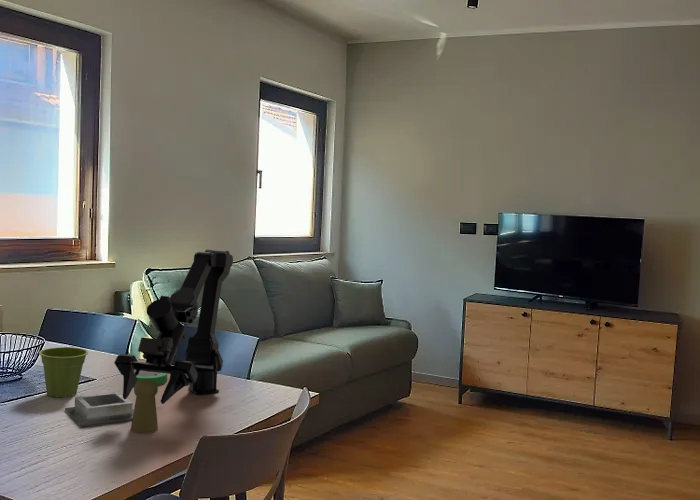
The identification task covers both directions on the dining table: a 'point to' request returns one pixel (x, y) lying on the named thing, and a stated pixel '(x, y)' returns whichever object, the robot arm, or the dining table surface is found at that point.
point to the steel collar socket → (101, 409)
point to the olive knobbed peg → (145, 407)
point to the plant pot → (62, 370)
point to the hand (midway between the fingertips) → (142, 400)
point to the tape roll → (152, 377)
